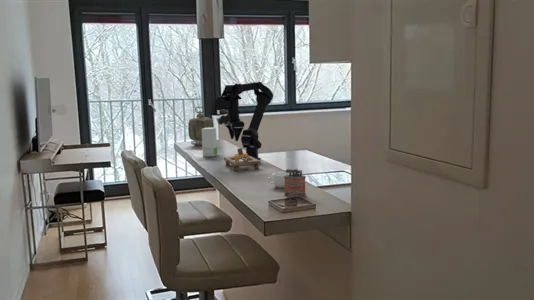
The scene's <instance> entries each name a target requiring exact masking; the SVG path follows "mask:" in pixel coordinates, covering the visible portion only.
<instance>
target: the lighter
mask: <svg viewBox="0 0 534 300" xmlns="http://www.w3.org/2000/svg"><path fill="white" fill-rule="evenodd" d="M285 172H286V173H289V175H284V178H285V188H284V197H291V198H305V197H306V196H307V193H306V178H307V177H306V175H303V170H302V169H298V168H294V169H291V168H286V169H285ZM291 173H292V175H291Z"/></svg>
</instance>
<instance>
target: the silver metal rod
mask: <svg viewBox="0 0 534 300" xmlns="http://www.w3.org/2000/svg"><path fill="white" fill-rule="evenodd" d="M235 155H238V153H235ZM239 160H241V161H243V162H247V161H248V158H243V157H241V158H240V159H239Z"/></svg>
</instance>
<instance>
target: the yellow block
mask: <svg viewBox="0 0 534 300" xmlns="http://www.w3.org/2000/svg"><path fill="white" fill-rule="evenodd" d="M237 154H238V155H233V156H234V158H235V160H234V161H235V162H238V161H240V159H239V158H241V157H244V158H248V154H247V153H246V152H243V147H239V148H237ZM248 161H250V160H249V158H248Z"/></svg>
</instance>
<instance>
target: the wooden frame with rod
mask: <svg viewBox="0 0 534 300" xmlns="http://www.w3.org/2000/svg"><path fill="white" fill-rule="evenodd" d="M243 158H244V157H243ZM248 158H249V161H247V162H243V160H241V159H240V158H239V161H238V162H235V158H234V155H232V156H223V161H225V166H230V165H232V166H233V171H234V172H238V171H239V166H247V165H254V170H259V169H260V165H259V164H261V160H260V159H258V160H257V159H255V158H253V157H252V156H250V155H248Z"/></svg>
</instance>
